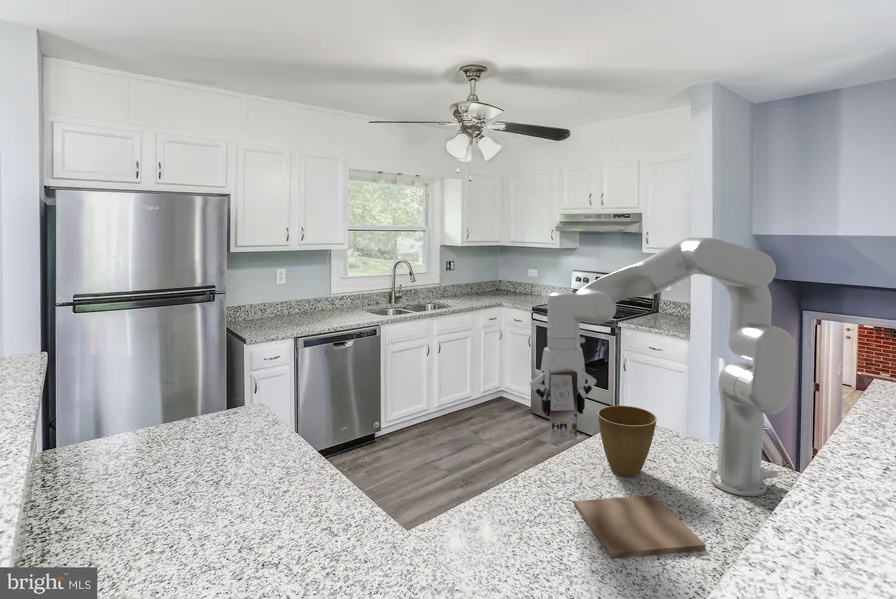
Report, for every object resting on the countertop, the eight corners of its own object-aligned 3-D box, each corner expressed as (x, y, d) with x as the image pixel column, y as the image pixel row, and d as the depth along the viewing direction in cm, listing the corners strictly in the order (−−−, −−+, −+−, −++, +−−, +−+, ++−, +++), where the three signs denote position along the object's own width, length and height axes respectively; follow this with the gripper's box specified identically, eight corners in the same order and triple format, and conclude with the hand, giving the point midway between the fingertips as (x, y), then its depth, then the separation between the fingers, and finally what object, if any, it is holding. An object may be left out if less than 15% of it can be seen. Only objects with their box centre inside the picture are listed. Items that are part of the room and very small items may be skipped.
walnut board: (653, 499, 122) (653, 494, 122) (705, 550, 102) (705, 544, 102) (574, 505, 119) (574, 500, 119) (611, 558, 100) (611, 553, 100)
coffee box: (577, 441, 119) (578, 374, 117) (549, 439, 121) (549, 374, 119) (575, 426, 128) (576, 365, 126) (549, 425, 129) (549, 364, 127)
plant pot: (595, 456, 146) (597, 403, 144) (650, 462, 142) (653, 407, 140) (596, 480, 132) (598, 421, 130) (657, 487, 128) (660, 427, 126)
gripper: (591, 338, 126) (590, 405, 128) (524, 341, 124) (524, 410, 126) (604, 344, 119) (603, 416, 121) (532, 348, 117) (533, 421, 119)
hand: (563, 412), depth 124 cm, fingers closed on coffee box, 7 cm apart
